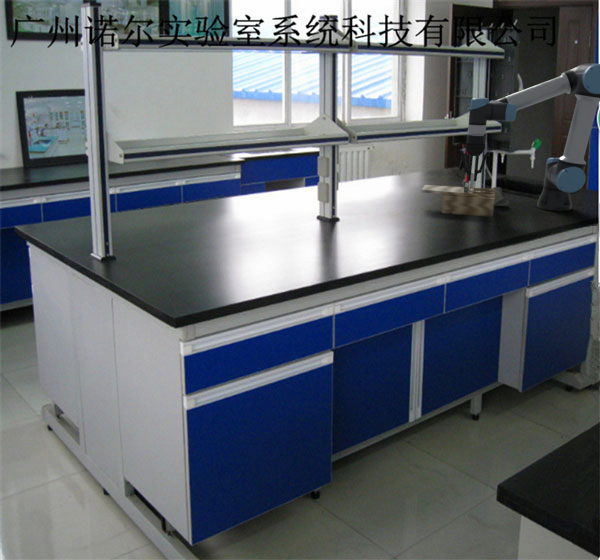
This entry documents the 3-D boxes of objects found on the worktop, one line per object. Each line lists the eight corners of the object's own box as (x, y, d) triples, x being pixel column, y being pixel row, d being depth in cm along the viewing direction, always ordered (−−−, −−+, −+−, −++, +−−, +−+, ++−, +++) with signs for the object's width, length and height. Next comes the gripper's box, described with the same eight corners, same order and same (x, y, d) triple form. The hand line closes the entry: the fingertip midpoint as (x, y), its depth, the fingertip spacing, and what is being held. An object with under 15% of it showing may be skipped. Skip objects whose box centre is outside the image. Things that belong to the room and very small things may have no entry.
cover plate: (473, 190, 323) (474, 182, 322) (472, 196, 312) (472, 187, 311) (424, 187, 329) (425, 179, 327) (421, 192, 318) (422, 184, 316)
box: (493, 210, 324) (495, 189, 321) (492, 216, 311) (494, 195, 308) (444, 206, 330) (445, 185, 327) (441, 212, 317) (443, 191, 314)
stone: (500, 182, 333) (488, 184, 327) (513, 199, 330) (501, 201, 323) (487, 196, 340) (475, 198, 333) (500, 212, 336) (487, 214, 330)
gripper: (492, 134, 311) (486, 187, 319) (461, 132, 315) (457, 185, 322) (491, 136, 304) (486, 190, 312) (460, 134, 308) (455, 188, 315)
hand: (471, 188), depth 317 cm, fingers closed
